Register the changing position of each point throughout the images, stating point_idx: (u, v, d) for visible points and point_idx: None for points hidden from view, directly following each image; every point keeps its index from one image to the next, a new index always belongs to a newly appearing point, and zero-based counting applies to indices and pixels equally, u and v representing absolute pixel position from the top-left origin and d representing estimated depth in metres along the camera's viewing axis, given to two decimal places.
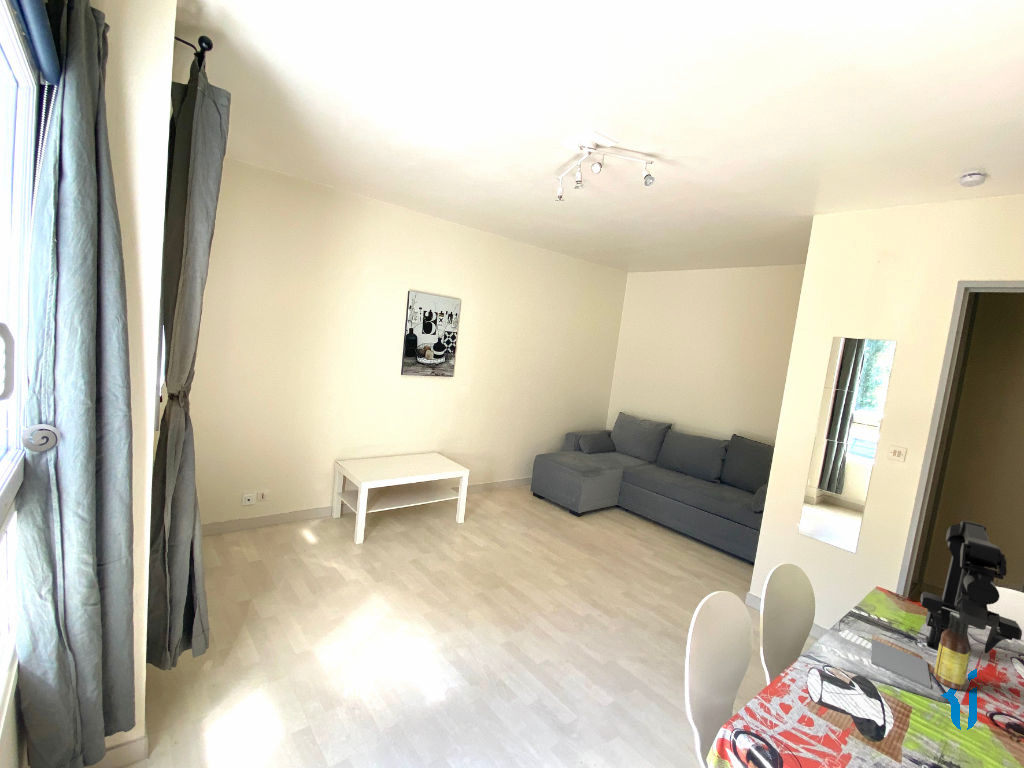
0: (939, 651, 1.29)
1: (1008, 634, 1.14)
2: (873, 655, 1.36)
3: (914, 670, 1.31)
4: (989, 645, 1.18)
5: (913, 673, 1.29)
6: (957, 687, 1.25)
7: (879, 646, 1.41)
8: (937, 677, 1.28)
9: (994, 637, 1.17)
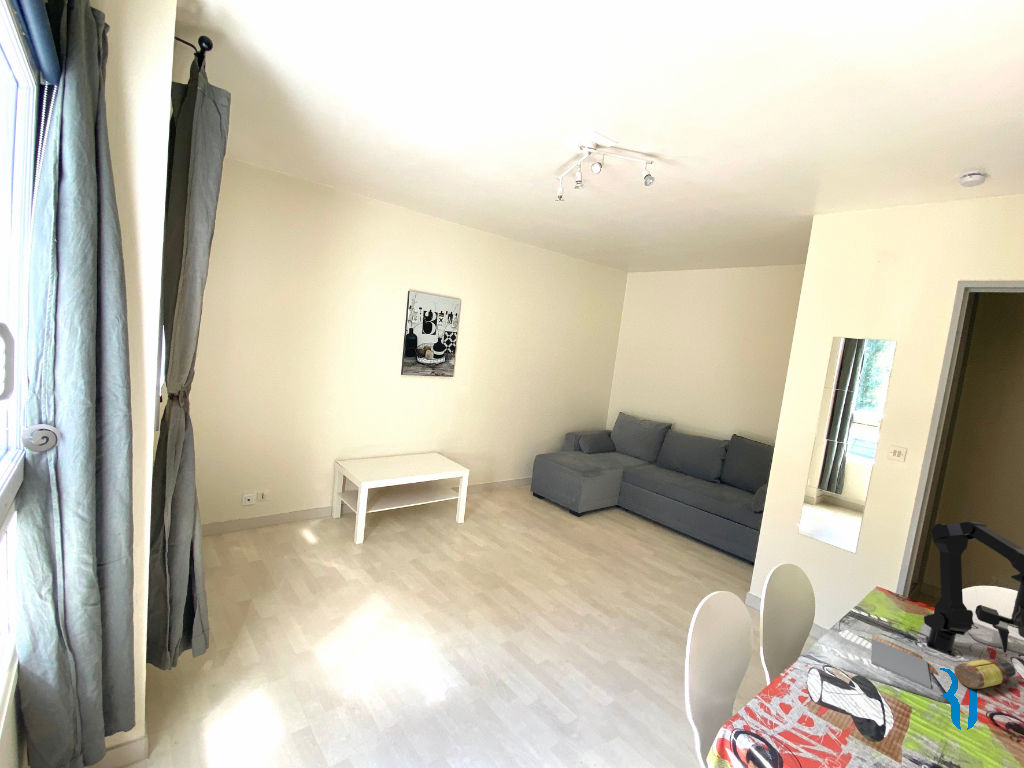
0: (985, 662, 1.29)
1: None
2: (873, 655, 1.36)
3: (914, 670, 1.31)
4: None
5: (913, 673, 1.29)
6: (981, 685, 1.24)
7: (879, 646, 1.41)
8: (973, 667, 1.26)
9: None
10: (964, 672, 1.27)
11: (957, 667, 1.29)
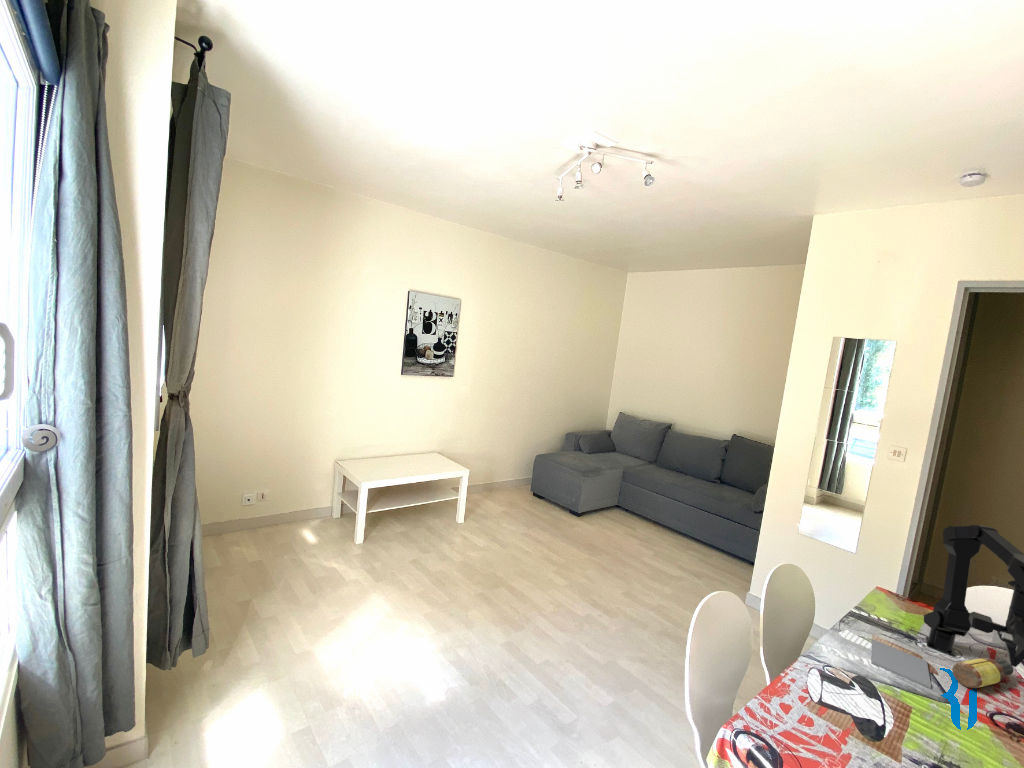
0: (981, 660, 1.30)
1: None
2: (873, 655, 1.36)
3: (914, 670, 1.31)
4: (1018, 658, 1.19)
5: (913, 673, 1.29)
6: (979, 683, 1.25)
7: (879, 646, 1.41)
8: (969, 666, 1.27)
9: (1023, 651, 1.18)
10: (961, 672, 1.28)
11: (954, 667, 1.29)
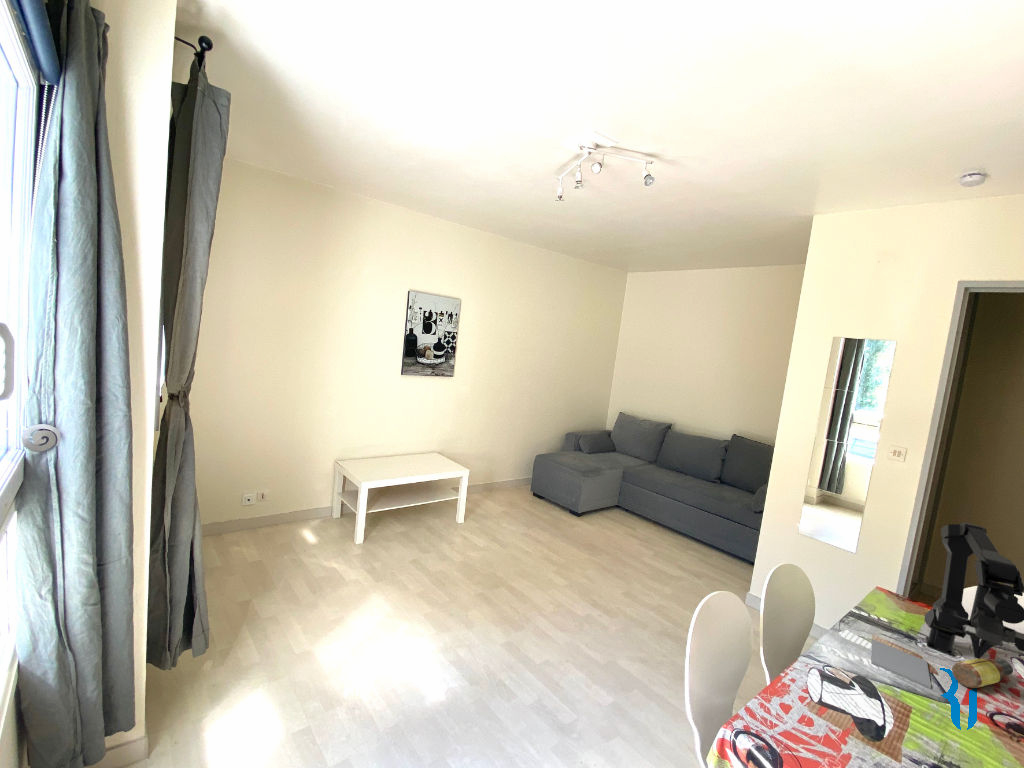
0: (980, 660, 1.30)
1: (1023, 649, 1.17)
2: (873, 655, 1.36)
3: (914, 670, 1.31)
4: (981, 651, 1.23)
5: (913, 673, 1.29)
6: (979, 683, 1.25)
7: (879, 646, 1.41)
8: (969, 665, 1.27)
9: (986, 643, 1.22)
10: (961, 671, 1.28)
11: (954, 667, 1.29)
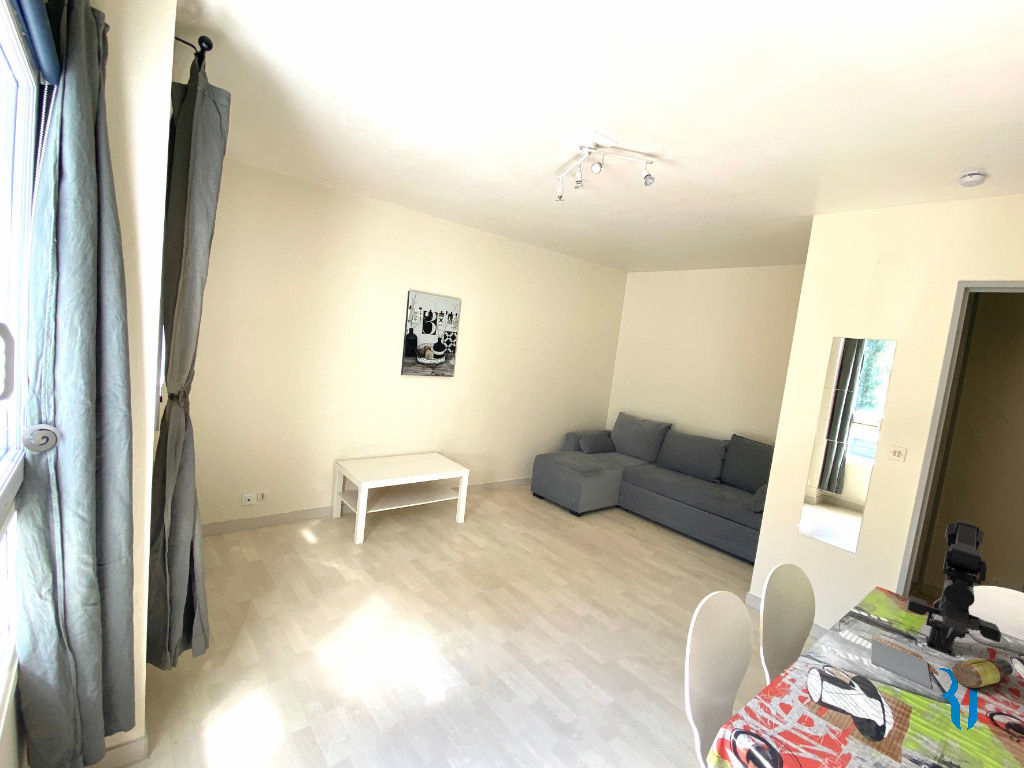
0: (980, 660, 1.30)
1: (988, 636, 1.21)
2: (873, 655, 1.36)
3: (914, 670, 1.31)
4: (949, 639, 1.27)
5: (913, 673, 1.29)
6: (979, 683, 1.25)
7: (879, 646, 1.41)
8: (969, 665, 1.27)
9: (953, 631, 1.26)
10: (961, 671, 1.28)
11: (954, 667, 1.29)
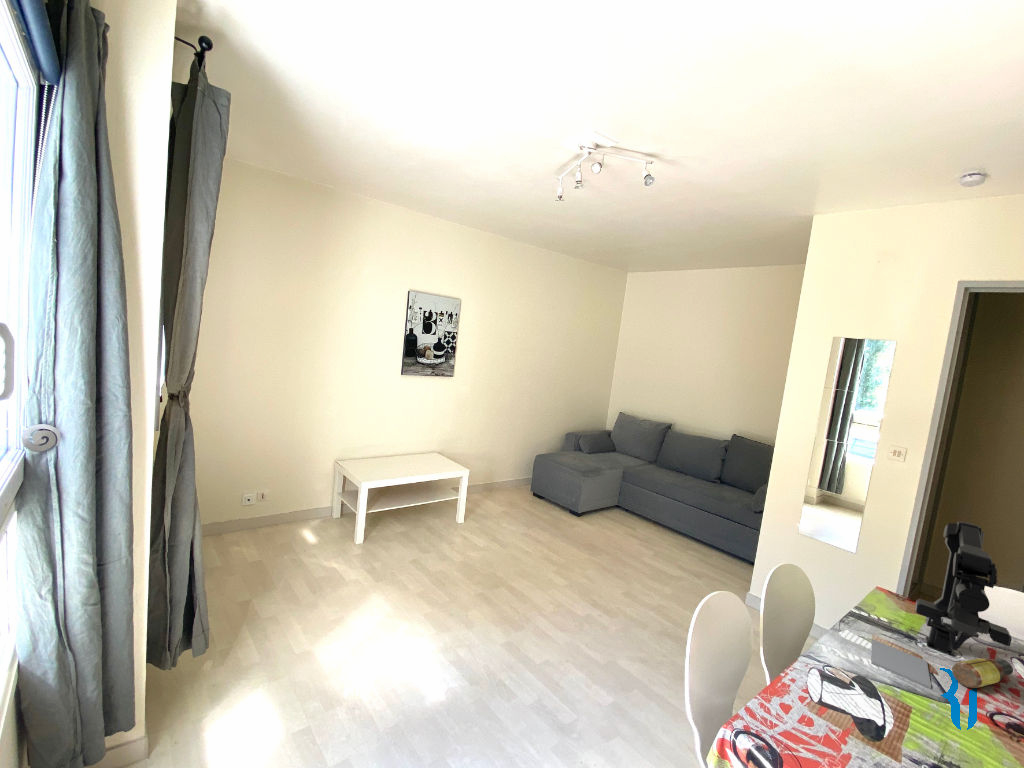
0: (980, 660, 1.30)
1: (998, 640, 1.20)
2: (873, 655, 1.36)
3: (914, 670, 1.31)
4: (958, 642, 1.26)
5: (913, 673, 1.29)
6: (979, 683, 1.25)
7: (879, 646, 1.41)
8: (969, 665, 1.27)
9: (962, 635, 1.25)
10: (961, 671, 1.28)
11: (954, 667, 1.29)
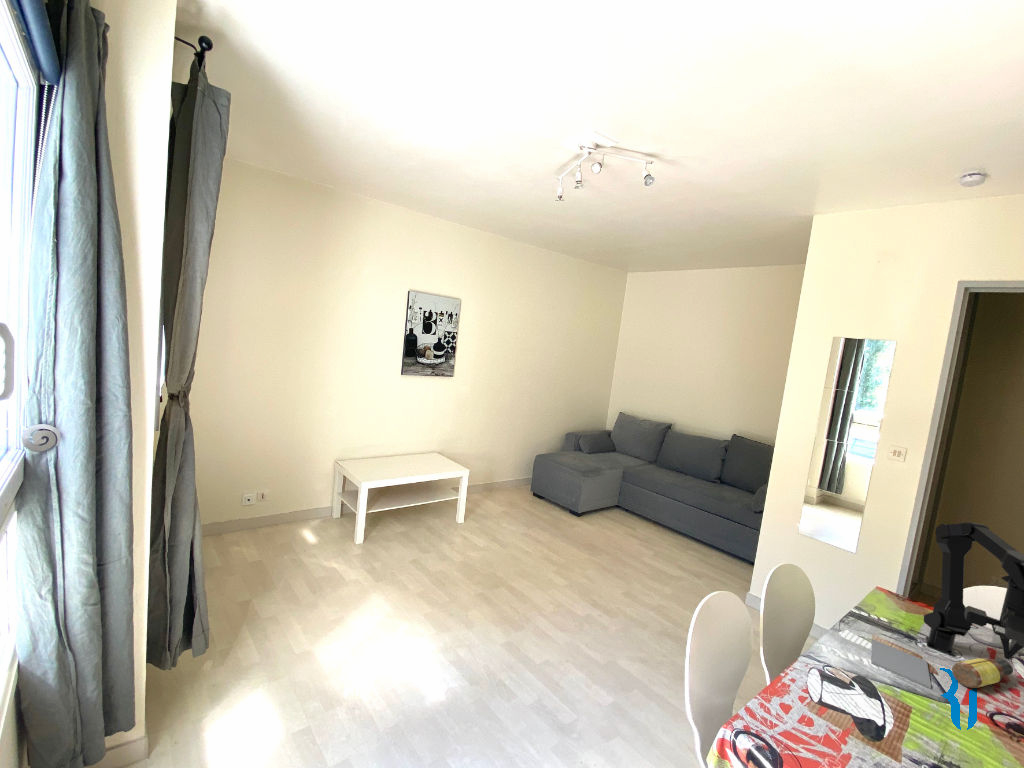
0: (980, 660, 1.30)
1: None
2: (873, 655, 1.36)
3: (914, 670, 1.31)
4: (1011, 651, 1.22)
5: (913, 673, 1.29)
6: (979, 683, 1.25)
7: (879, 646, 1.41)
8: (969, 665, 1.27)
9: (1016, 644, 1.21)
10: (961, 671, 1.28)
11: (954, 667, 1.29)
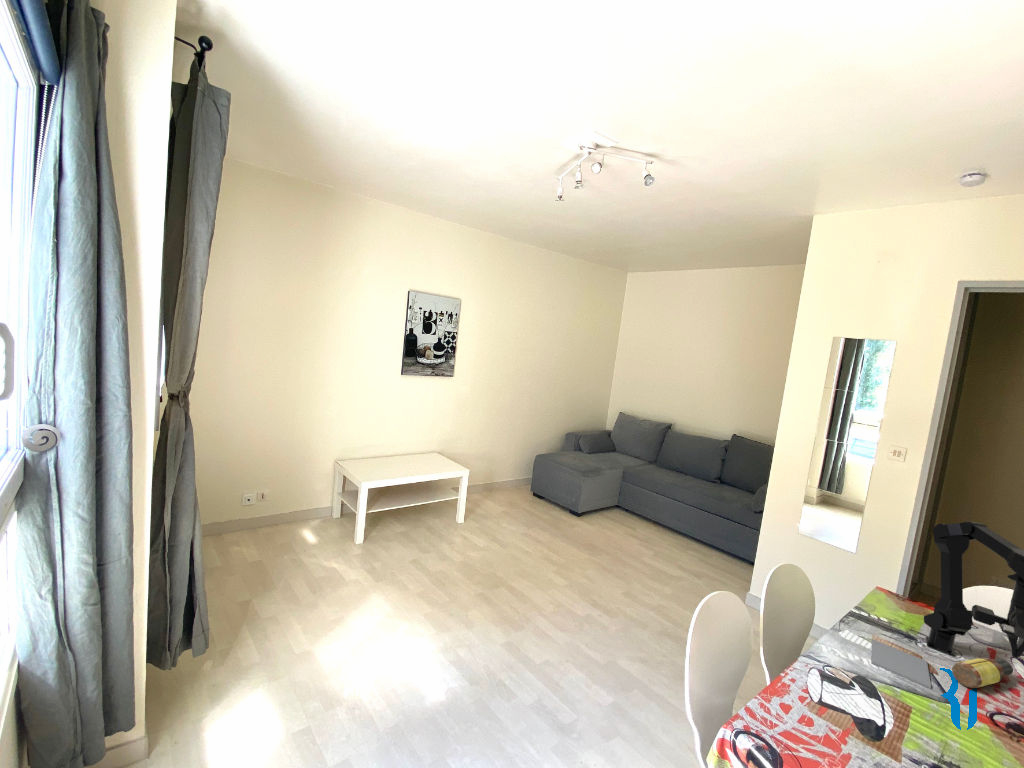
0: (980, 660, 1.30)
1: None
2: (873, 655, 1.36)
3: (914, 670, 1.31)
4: (1019, 650, 1.22)
5: (913, 673, 1.29)
6: (979, 683, 1.25)
7: (879, 646, 1.41)
8: (969, 665, 1.27)
9: None
10: (961, 671, 1.28)
11: (954, 667, 1.29)
